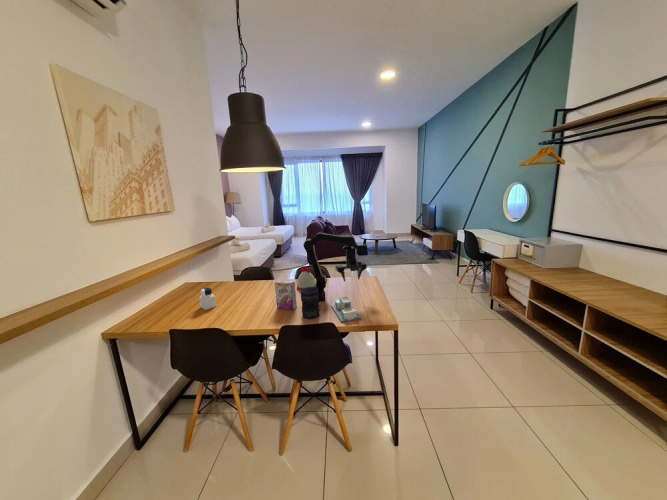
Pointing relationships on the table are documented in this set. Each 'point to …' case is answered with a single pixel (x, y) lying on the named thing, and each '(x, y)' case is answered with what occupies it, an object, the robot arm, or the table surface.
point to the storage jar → (310, 303)
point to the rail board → (339, 314)
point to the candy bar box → (285, 294)
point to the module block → (345, 303)
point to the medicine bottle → (207, 299)
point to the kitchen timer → (305, 279)
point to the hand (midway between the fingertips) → (351, 280)
